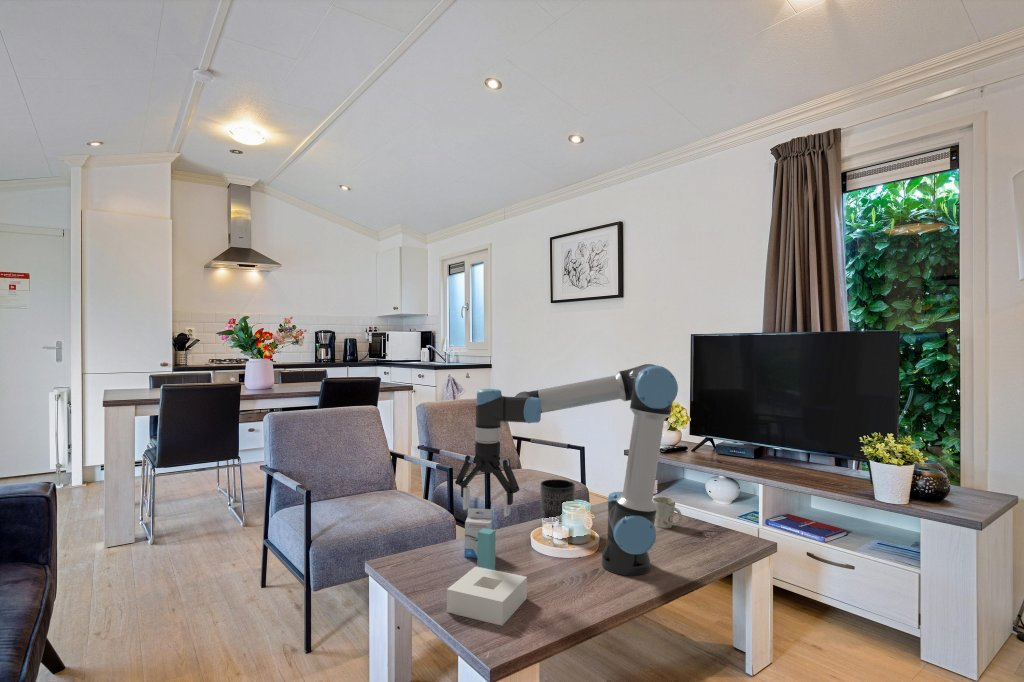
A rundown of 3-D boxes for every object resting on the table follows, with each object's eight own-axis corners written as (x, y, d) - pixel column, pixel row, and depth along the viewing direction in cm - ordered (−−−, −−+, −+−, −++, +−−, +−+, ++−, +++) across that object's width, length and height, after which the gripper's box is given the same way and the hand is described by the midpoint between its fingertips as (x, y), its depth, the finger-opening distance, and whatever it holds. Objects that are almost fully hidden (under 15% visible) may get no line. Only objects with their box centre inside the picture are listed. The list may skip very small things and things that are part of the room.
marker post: (495, 576, 167) (495, 530, 167) (489, 581, 164) (489, 534, 163) (483, 573, 169) (483, 527, 169) (477, 579, 165) (477, 532, 165)
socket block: (526, 598, 153) (526, 576, 153) (502, 625, 139) (502, 601, 139) (475, 587, 160) (475, 566, 160) (446, 612, 145) (447, 589, 145)
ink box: (463, 557, 181) (464, 512, 181) (466, 551, 186) (467, 507, 186) (489, 559, 180) (490, 513, 180) (491, 553, 185) (492, 508, 185)
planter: (537, 525, 213) (538, 479, 213) (571, 525, 214) (571, 479, 213) (541, 537, 200) (542, 488, 200) (577, 537, 201) (578, 488, 201)
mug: (661, 520, 220) (661, 495, 220) (688, 529, 211) (689, 503, 211) (648, 525, 215) (648, 499, 215) (676, 534, 205) (676, 507, 205)
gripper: (531, 443, 164) (529, 514, 164) (457, 435, 174) (455, 502, 175) (521, 447, 157) (519, 522, 158) (445, 438, 167) (443, 509, 168)
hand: (486, 511), depth 166 cm, fingers open, 13 cm apart
